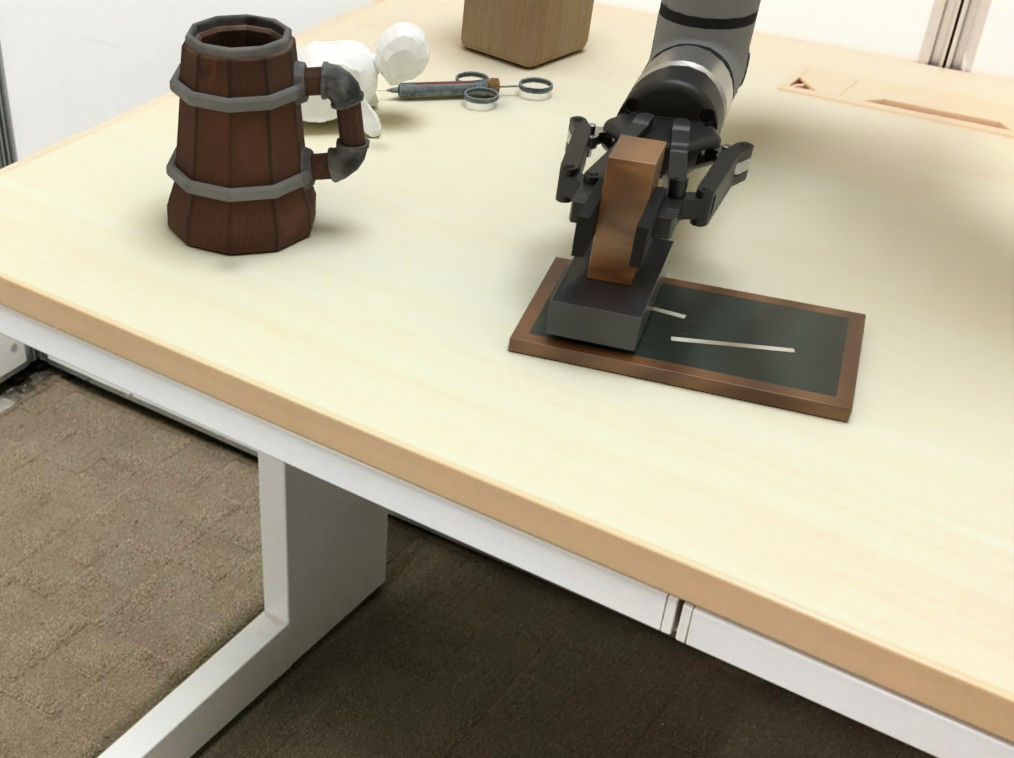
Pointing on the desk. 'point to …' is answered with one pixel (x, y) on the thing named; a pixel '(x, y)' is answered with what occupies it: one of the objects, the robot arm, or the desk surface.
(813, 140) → the desk surface
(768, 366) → the chalkboard
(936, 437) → the desk surface
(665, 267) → the eraser
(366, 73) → the white animal figurine
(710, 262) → the desk surface
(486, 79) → the syringe
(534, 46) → the wooden block
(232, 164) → the mug
